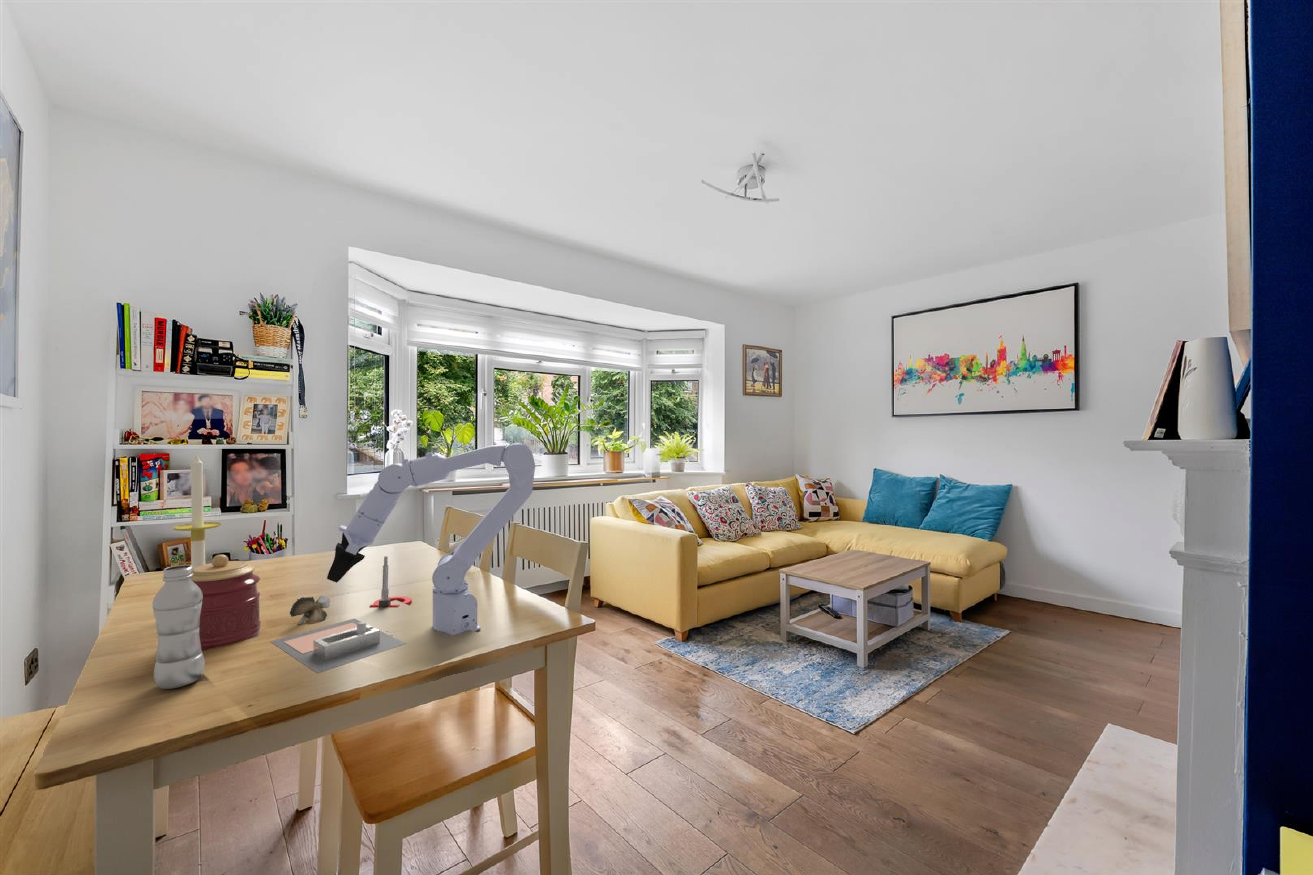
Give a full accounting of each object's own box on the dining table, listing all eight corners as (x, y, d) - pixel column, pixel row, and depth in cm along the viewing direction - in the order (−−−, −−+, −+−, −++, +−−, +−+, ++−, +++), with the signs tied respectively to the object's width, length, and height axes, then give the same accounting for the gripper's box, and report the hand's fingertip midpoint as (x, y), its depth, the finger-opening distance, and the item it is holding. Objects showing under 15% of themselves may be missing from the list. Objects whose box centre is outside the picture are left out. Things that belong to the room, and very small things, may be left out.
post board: (406, 648, 107) (406, 623, 107) (317, 678, 94) (317, 650, 94) (354, 622, 120) (354, 600, 120) (270, 646, 107) (269, 621, 107)
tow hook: (383, 600, 136) (364, 611, 127) (384, 549, 136) (366, 556, 127) (417, 601, 136) (400, 612, 127) (418, 549, 137) (402, 557, 127)
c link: (379, 642, 107) (379, 630, 107) (324, 660, 99) (324, 646, 99) (367, 636, 110) (367, 624, 110) (313, 652, 102) (313, 639, 102)
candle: (159, 616, 122) (156, 452, 121) (208, 602, 132) (206, 450, 131) (188, 622, 119) (186, 453, 118) (236, 607, 129) (234, 451, 128)
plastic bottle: (215, 675, 95) (213, 562, 94) (182, 694, 88) (180, 573, 88) (177, 675, 95) (175, 562, 94) (142, 694, 88) (139, 573, 87)
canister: (272, 636, 112) (272, 552, 111) (195, 660, 101) (193, 566, 100) (243, 624, 118) (242, 544, 118) (167, 644, 107) (166, 557, 107)
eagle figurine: (285, 616, 121) (279, 621, 113) (306, 586, 123) (301, 590, 115) (318, 630, 123) (315, 637, 115) (338, 601, 126) (336, 605, 118)
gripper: (356, 499, 117) (321, 554, 116) (348, 515, 104) (307, 578, 102) (388, 513, 120) (354, 567, 118) (383, 531, 107) (345, 592, 105)
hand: (334, 573), depth 110 cm, fingers open, 7 cm apart
